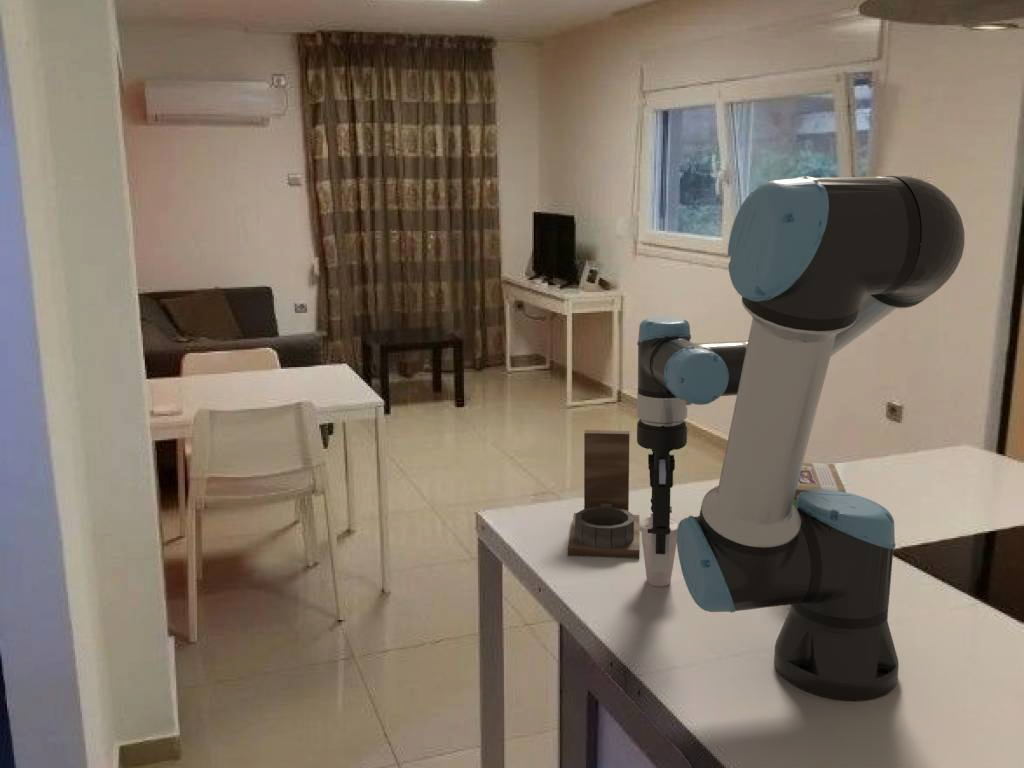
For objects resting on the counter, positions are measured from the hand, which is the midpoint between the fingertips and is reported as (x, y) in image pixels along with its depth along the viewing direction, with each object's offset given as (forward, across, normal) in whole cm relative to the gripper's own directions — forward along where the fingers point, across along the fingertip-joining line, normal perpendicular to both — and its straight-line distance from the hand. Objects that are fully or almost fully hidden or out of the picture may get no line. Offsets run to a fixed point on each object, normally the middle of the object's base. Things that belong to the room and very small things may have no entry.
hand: (659, 561), depth 145 cm
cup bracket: (+3, +17, +9) cm, 19 cm away
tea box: (+4, +11, -24) cm, 27 cm away
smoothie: (+4, 0, 0) cm, 4 cm away
